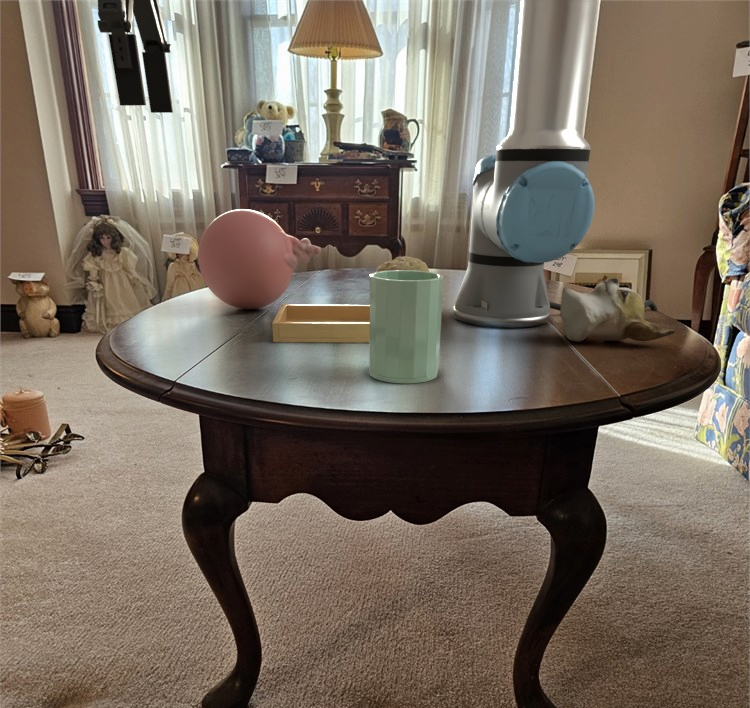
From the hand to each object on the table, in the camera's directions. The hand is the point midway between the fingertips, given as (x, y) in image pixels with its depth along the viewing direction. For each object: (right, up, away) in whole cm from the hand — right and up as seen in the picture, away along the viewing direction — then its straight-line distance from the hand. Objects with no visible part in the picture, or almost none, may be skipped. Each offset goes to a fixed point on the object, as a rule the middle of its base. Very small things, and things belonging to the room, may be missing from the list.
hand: (148, 109), depth 79 cm
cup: (+31, -33, -3) cm, 45 cm away
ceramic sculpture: (+60, -25, +13) cm, 67 cm away
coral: (+32, -12, +38) cm, 51 cm away
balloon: (+9, -15, +31) cm, 36 cm away
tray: (+22, -23, +17) cm, 36 cm away
